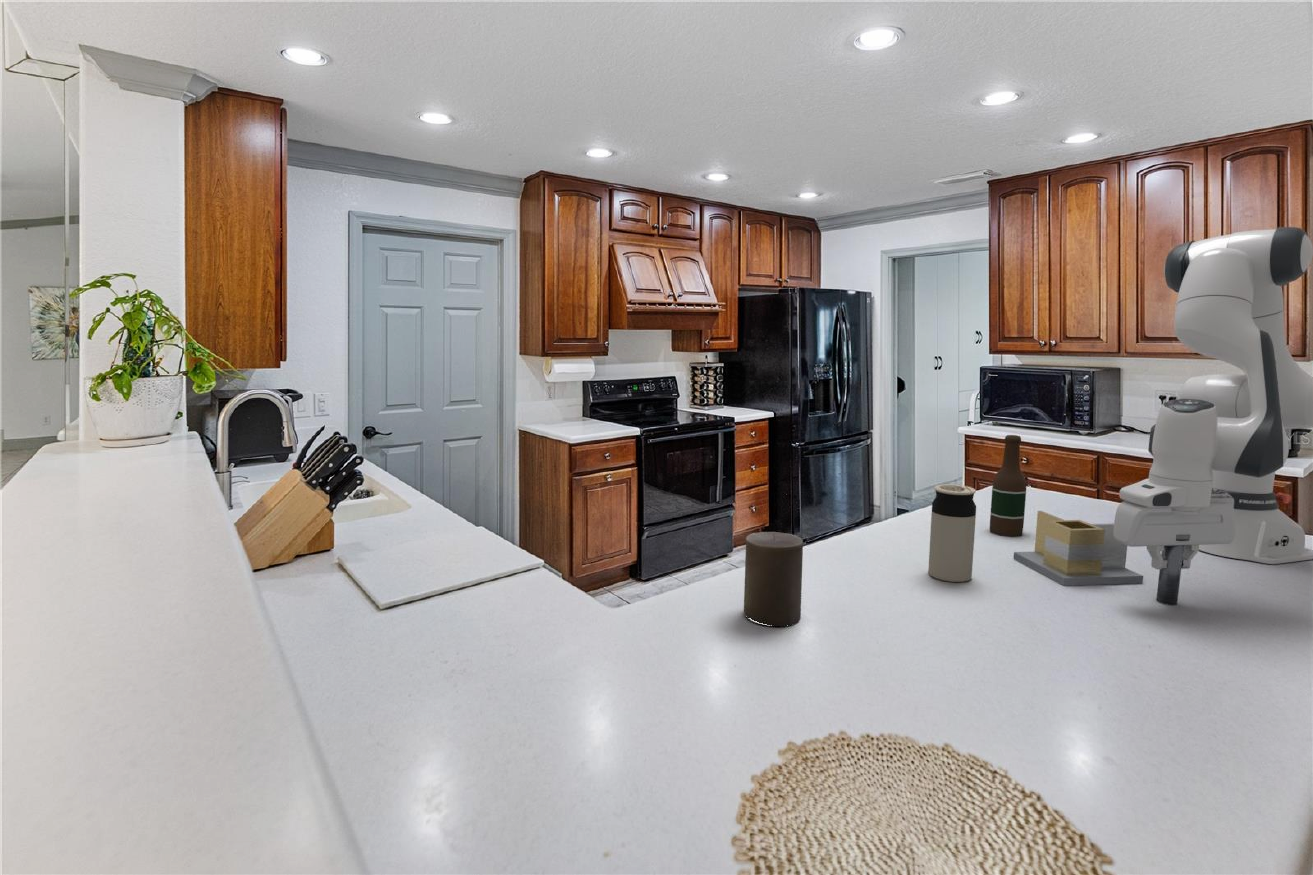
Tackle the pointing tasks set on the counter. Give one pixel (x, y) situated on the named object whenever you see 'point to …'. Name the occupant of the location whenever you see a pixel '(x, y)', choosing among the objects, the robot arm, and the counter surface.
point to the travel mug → (952, 533)
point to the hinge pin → (1171, 572)
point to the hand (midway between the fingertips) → (1170, 568)
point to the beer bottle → (1009, 493)
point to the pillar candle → (773, 578)
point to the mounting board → (1106, 576)
